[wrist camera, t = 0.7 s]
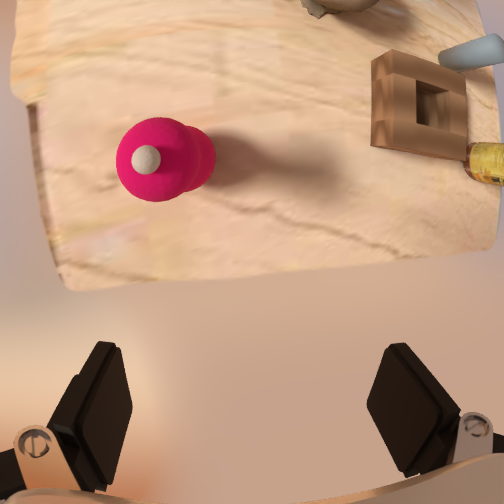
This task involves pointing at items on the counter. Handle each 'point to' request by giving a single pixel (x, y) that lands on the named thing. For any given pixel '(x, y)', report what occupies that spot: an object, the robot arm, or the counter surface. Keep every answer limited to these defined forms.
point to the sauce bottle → (485, 162)
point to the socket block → (418, 107)
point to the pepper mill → (164, 159)
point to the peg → (473, 54)
